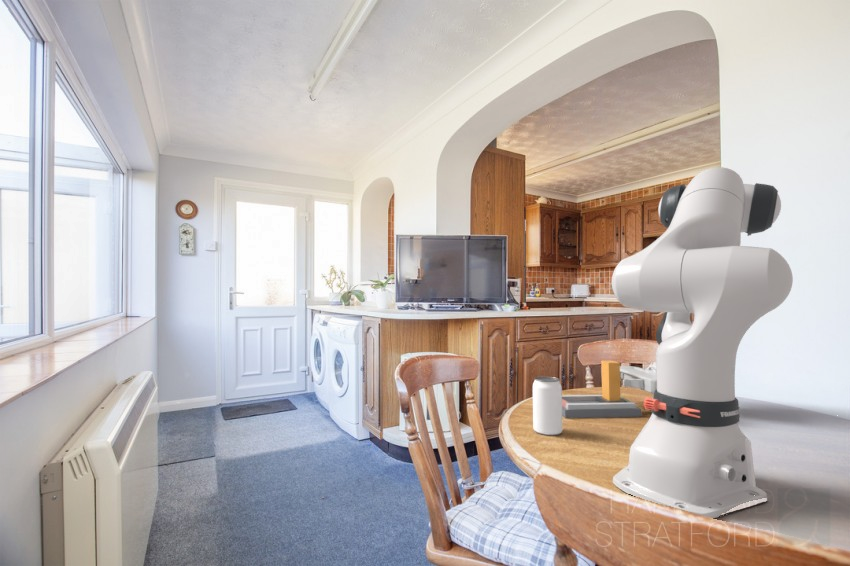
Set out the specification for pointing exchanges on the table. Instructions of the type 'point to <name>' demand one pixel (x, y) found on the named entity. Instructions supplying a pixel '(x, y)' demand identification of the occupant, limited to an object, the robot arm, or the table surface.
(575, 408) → the grey tray
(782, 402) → the table surface
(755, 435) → the table surface
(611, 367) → the handle
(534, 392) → the can
